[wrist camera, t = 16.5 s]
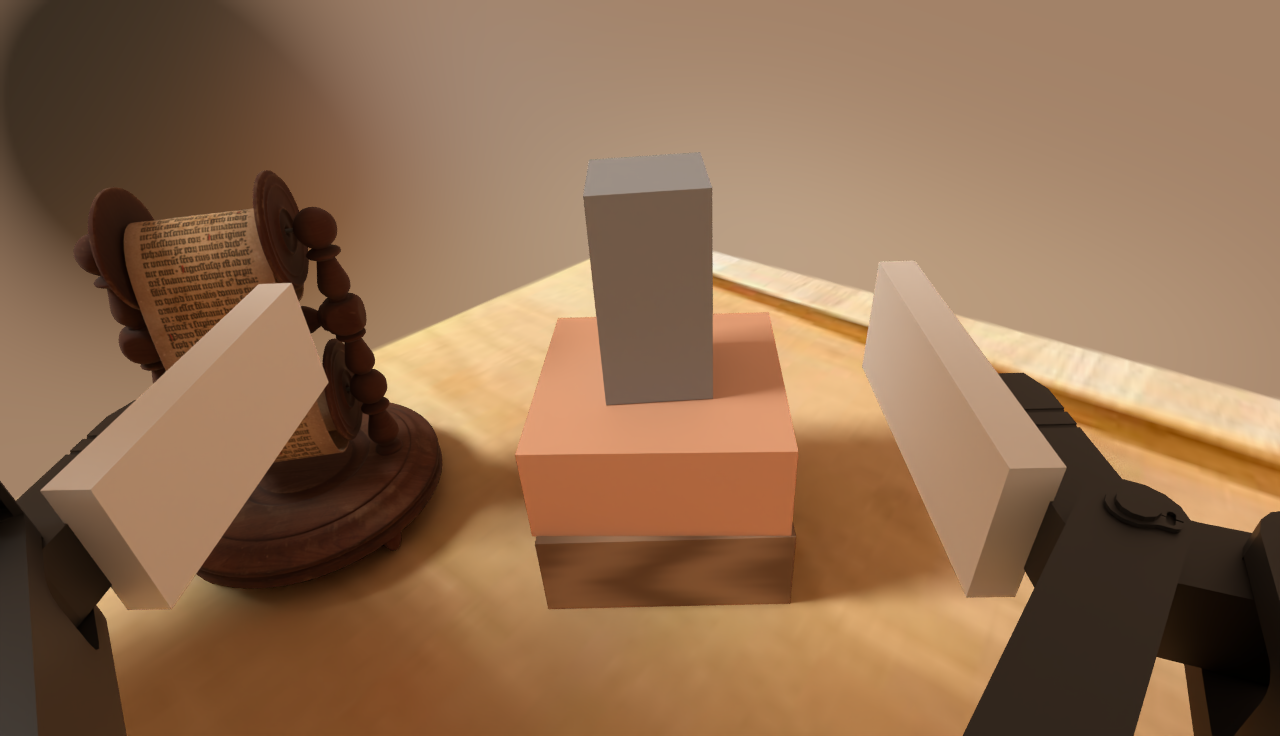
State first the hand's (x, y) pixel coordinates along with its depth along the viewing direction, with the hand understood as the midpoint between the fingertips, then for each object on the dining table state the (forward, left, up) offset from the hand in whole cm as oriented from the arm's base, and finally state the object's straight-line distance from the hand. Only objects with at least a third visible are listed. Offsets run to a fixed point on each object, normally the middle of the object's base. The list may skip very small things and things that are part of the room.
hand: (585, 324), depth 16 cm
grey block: (+1, +15, -11) cm, 18 cm away
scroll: (-20, +16, -21) cm, 33 cm away
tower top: (+1, +15, -16) cm, 22 cm away
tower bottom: (+1, +14, -21) cm, 26 cm away
